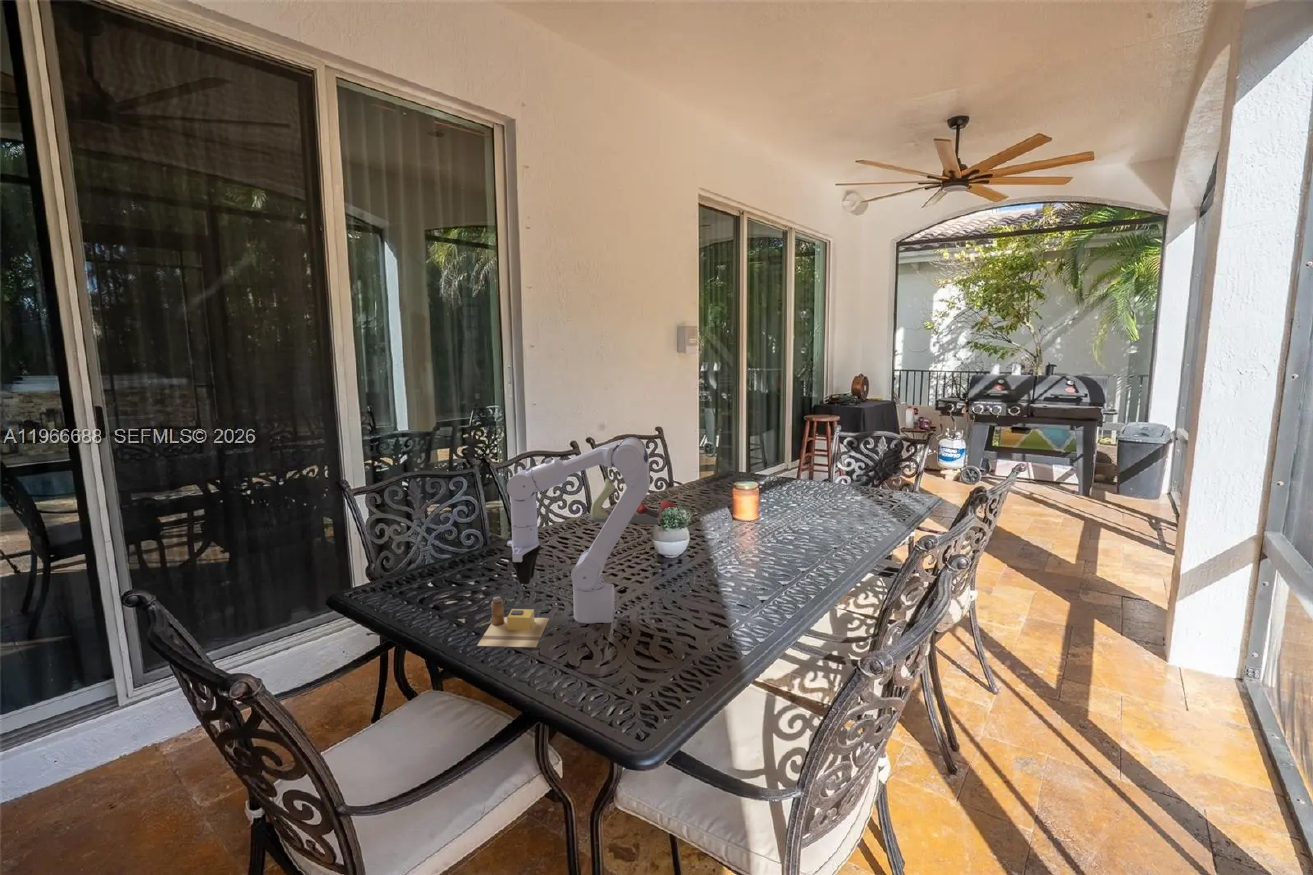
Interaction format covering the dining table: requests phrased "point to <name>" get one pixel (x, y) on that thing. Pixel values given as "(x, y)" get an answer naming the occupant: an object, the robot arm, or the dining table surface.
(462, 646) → the dining table surface
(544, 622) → the plywood panel
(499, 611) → the brown gray-topped cylinder
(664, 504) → the hand plane
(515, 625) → the stud finder
